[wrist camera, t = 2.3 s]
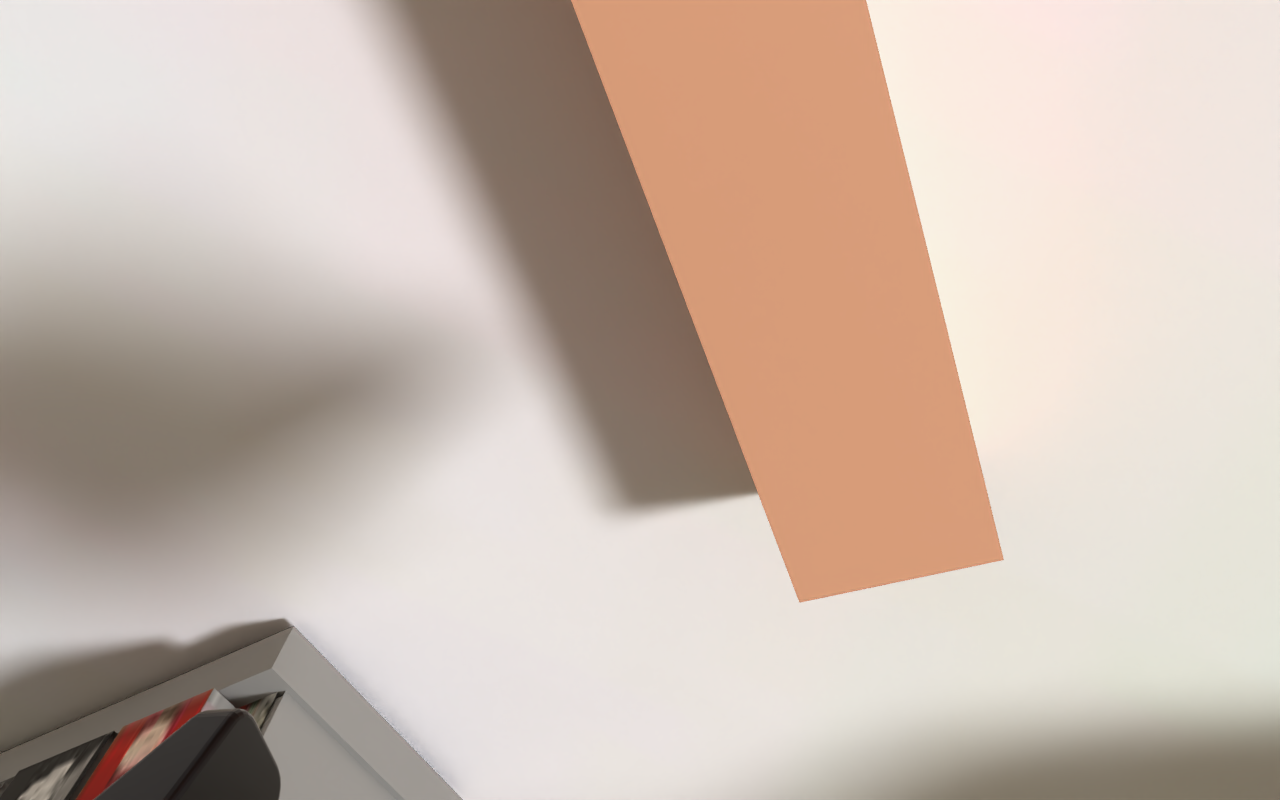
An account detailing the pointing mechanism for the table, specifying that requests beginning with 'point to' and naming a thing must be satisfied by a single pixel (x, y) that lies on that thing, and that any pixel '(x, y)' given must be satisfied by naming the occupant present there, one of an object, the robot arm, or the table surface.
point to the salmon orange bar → (803, 276)
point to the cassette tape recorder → (283, 709)
